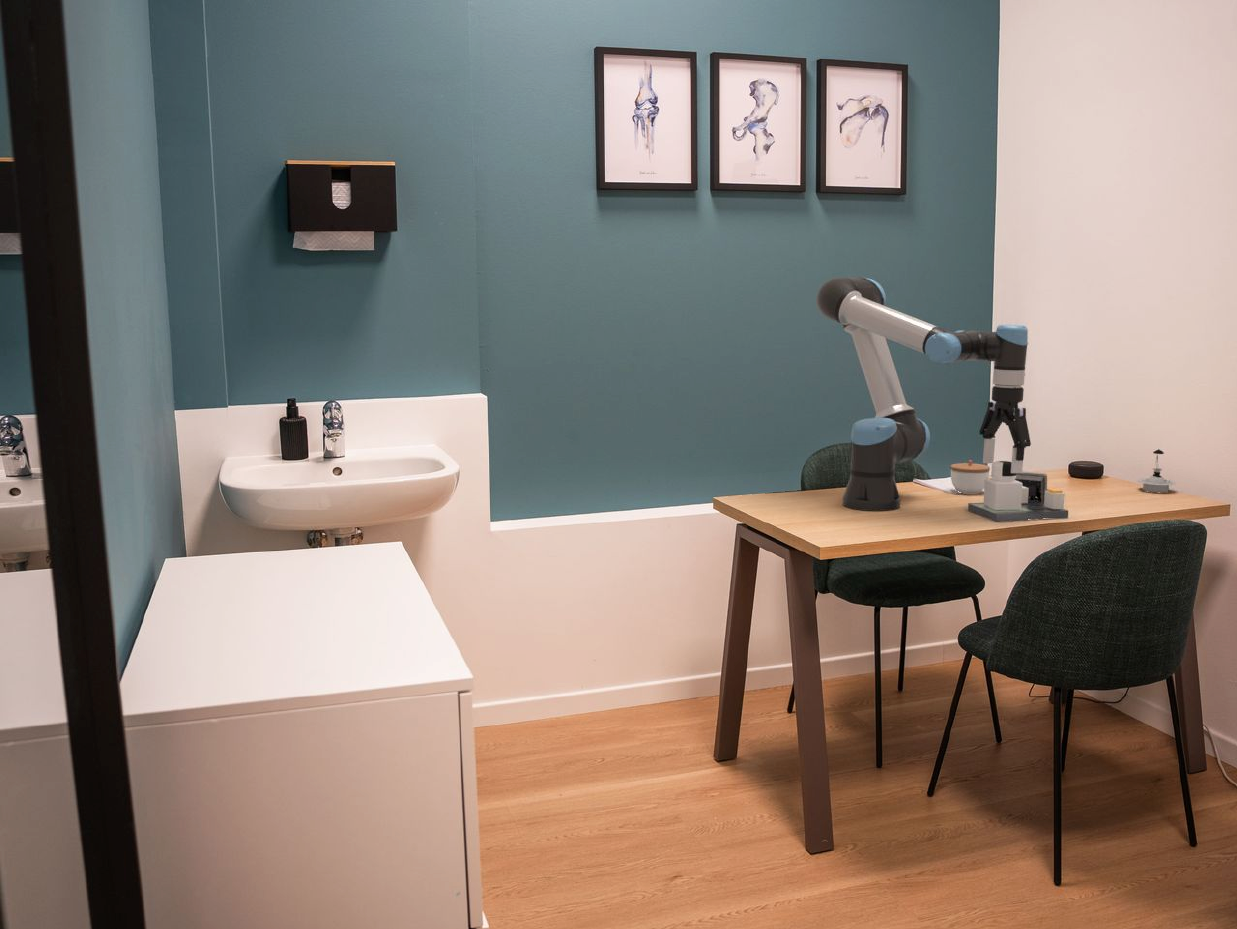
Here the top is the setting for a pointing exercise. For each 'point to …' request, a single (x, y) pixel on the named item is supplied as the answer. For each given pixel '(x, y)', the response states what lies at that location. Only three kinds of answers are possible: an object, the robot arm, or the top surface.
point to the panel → (1018, 512)
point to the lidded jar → (969, 477)
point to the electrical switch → (1033, 484)
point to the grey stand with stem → (1156, 480)
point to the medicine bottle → (1002, 488)
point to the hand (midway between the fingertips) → (1001, 468)
